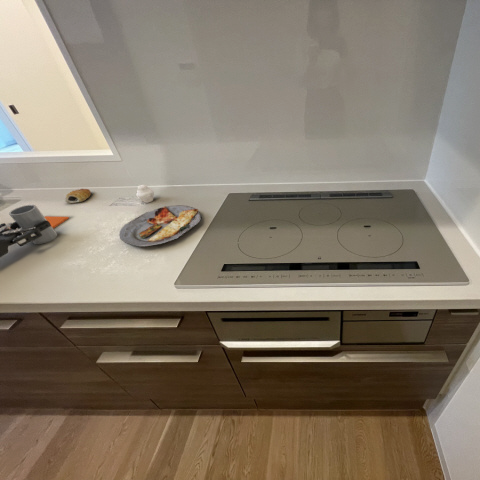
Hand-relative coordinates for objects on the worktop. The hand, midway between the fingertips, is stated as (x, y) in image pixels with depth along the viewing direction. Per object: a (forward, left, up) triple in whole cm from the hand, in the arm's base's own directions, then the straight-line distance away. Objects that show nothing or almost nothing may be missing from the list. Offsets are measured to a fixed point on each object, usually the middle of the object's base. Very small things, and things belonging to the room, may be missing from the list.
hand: (38, 221), depth 85 cm
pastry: (-10, +26, -6) cm, 28 cm away
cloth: (-7, +7, -6) cm, 11 cm away
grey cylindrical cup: (0, -1, -6) cm, 6 cm away
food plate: (+37, +6, -6) cm, 38 cm away
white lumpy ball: (+20, +25, -6) cm, 32 cm away
